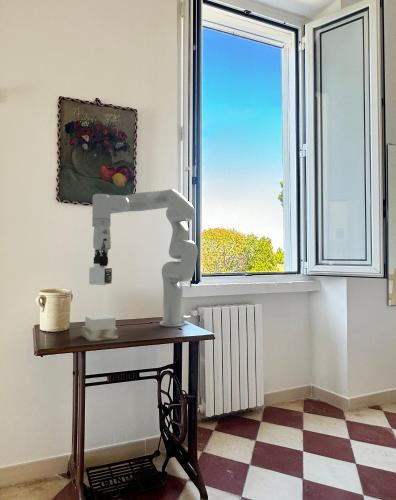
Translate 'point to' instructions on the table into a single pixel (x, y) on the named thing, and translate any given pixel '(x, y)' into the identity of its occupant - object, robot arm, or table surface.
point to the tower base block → (99, 334)
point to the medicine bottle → (100, 273)
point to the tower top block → (100, 322)
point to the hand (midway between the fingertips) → (100, 265)
